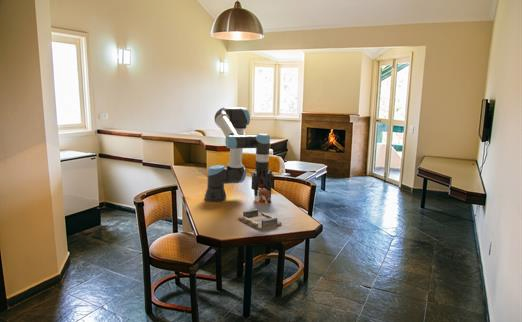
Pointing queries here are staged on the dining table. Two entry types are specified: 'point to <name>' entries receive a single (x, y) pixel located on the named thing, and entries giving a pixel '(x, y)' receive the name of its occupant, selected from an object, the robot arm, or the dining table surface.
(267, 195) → the bull figurine
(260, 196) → the vessel
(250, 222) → the chassis bay
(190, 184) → the dining table surface
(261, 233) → the dining table surface
